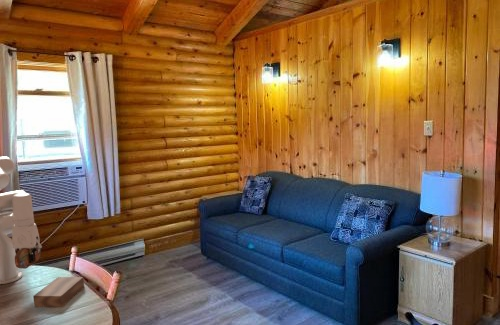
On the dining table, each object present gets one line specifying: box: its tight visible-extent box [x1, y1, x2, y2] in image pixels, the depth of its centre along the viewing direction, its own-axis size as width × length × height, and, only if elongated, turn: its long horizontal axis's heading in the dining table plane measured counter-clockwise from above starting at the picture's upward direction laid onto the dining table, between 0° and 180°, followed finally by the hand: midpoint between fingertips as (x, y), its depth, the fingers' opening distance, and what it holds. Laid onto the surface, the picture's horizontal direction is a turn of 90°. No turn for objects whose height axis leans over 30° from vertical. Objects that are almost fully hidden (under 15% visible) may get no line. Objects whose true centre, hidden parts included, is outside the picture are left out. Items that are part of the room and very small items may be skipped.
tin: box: [15, 246, 42, 270], centre depth 178 cm, size 15×3×8 cm, turn 174°
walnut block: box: [32, 276, 85, 309], centre depth 174 cm, size 12×18×5 cm, turn 174°
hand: (29, 261), depth 178 cm, fingers closed on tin, 2 cm apart
